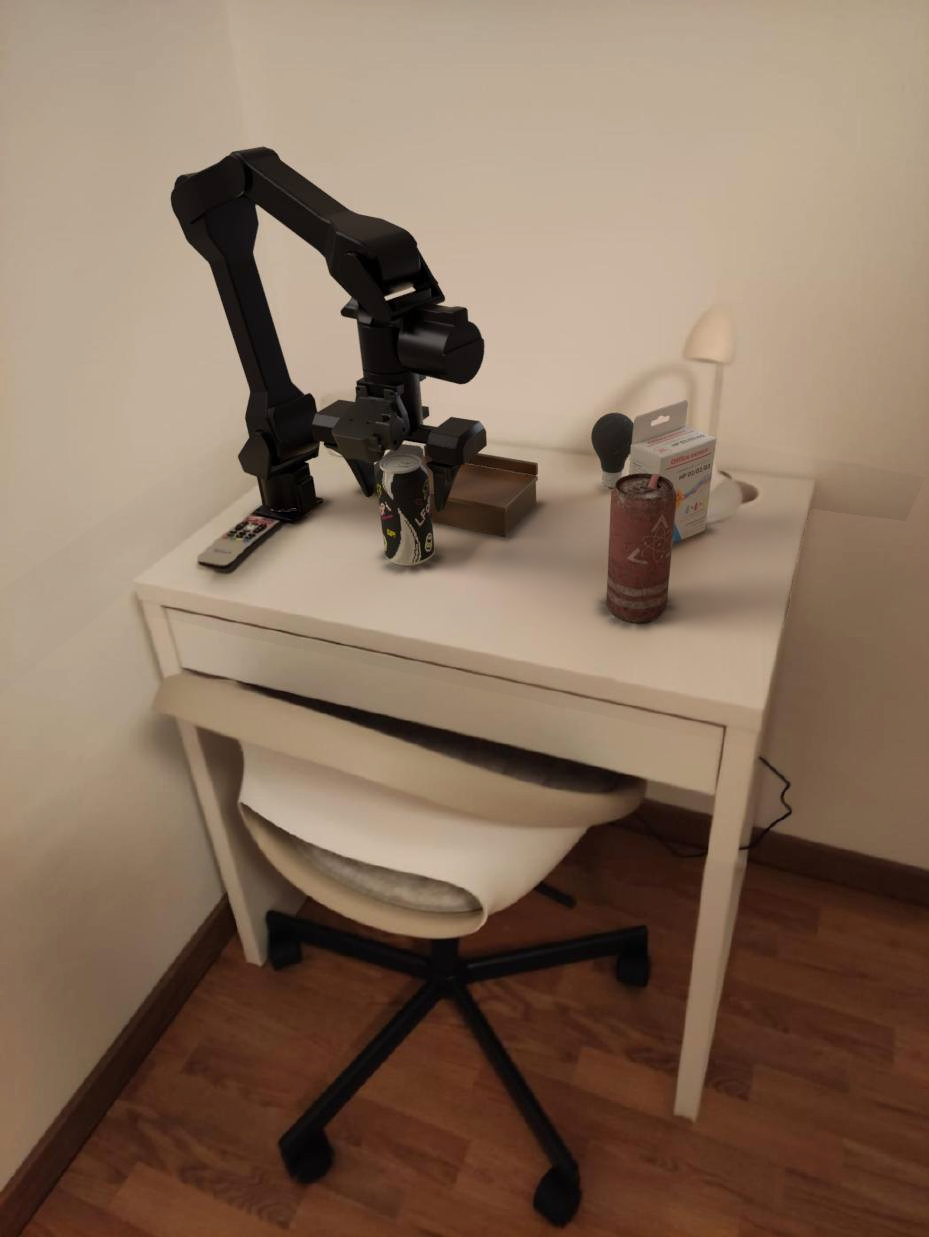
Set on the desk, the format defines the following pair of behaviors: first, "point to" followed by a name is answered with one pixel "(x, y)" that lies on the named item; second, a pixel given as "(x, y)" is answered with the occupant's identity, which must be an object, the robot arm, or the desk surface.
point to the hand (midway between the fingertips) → (404, 503)
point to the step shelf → (487, 494)
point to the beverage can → (405, 509)
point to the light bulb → (612, 445)
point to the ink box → (676, 463)
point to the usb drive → (403, 449)
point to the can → (640, 546)
